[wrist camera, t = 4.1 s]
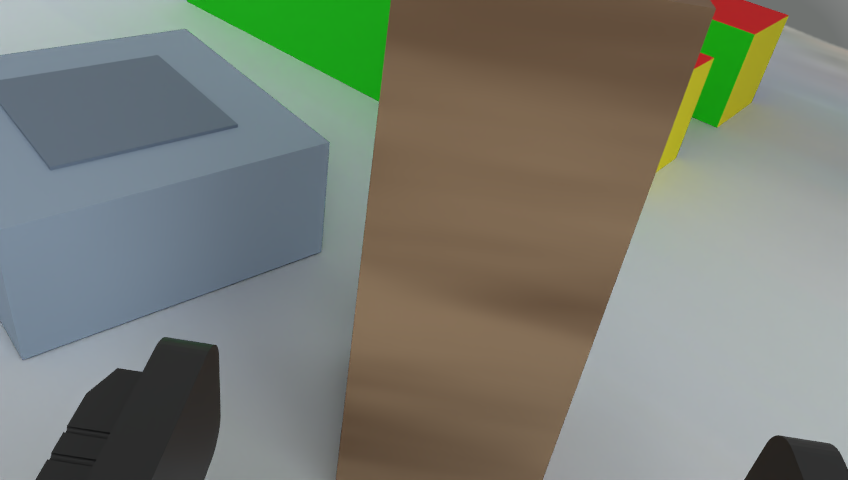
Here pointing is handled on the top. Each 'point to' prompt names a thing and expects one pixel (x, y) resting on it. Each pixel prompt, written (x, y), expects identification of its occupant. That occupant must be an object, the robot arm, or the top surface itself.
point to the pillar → (501, 221)
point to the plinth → (142, 183)
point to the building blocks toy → (367, 31)
